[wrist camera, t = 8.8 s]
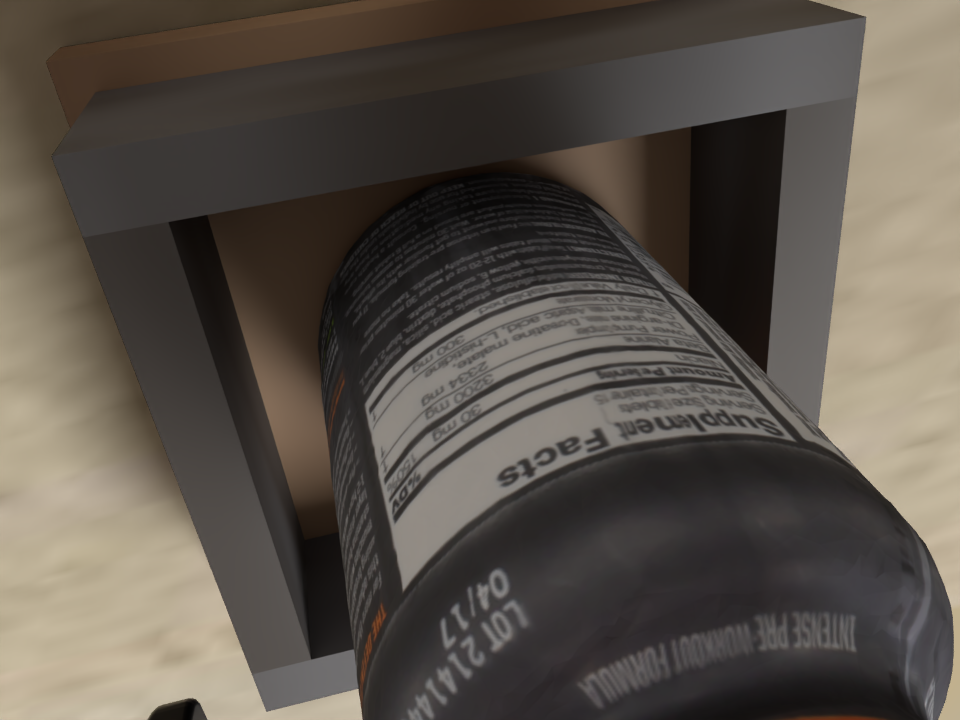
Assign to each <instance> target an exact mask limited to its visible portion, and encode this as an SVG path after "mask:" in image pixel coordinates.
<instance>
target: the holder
mask: <svg viewBox="0 0 960 720" xmlns="http://www.w3.org/2000/svg"><path fill="white" fill-rule="evenodd" d="M865 24H866V17H865V16H861V15H858V14H854V13H851V12H847V11H844V10H840V9H837V8H833V7H830V6H827V5H823V4H820V3H816V2H813V1H809V0H361V1H354V2H348V3H342V4H335V5H329V6H323V7H316V8H310V9H303V10H297V11H291V12H284V13H278V14H271V15H265V16H259V17H252V18H246V19H240V20H233V21H227V22H220V23H214V24H208V25H201V26H195V27H189V28H182V29H176V30H169V31H163V32H157V33H150V34H144V35H138V36H131V37H125V38H118V39H112V40H106V41H99V42H93V43H86V44H80V45H74V46H67V47H61V48H59V49H58V50H57V51H56V52H55V53H54V54H53V55H52V56H51V57H50V58H49V59H48V60H47V61H46V64H47V66H48V69H49V72H50V75H51V77H52V80H53V83H54V85H55V88H56V91H57V94H58V96H59V99H60V102H61V104H62V107H63V110H64V112H65V115H66V118H67V121H68V123H69V126H70V130H69V131H68V133H67V134H66V136H65V137H64V139H63V140H62V142H61V143H60V145H59V146H58V147H57V149H56V150H55V152H54V153H53V155H52V156H51V157H52V159H53V162H54V164H55V167H56V170H57V172H58V175H59V177H60V180H61V182H62V185H63V188H64V190H65V193H66V195H67V198H68V200H69V203H70V206H71V208H72V211H73V213H74V216H75V219H76V221H77V224H78V226H79V229H80V231H81V234H82V237H83V239H84V242H85V244H86V247H87V250H88V252H89V255H90V257H91V260H92V262H93V265H94V268H95V270H96V273H97V275H98V278H99V281H100V283H101V286H102V288H103V291H104V293H105V296H106V299H107V301H108V304H109V306H110V309H111V312H112V314H113V317H114V319H115V322H116V324H117V327H118V330H119V332H120V335H121V337H122V340H123V343H124V345H125V348H126V350H127V353H128V355H129V358H130V361H131V363H132V366H133V368H134V371H135V373H136V376H137V379H138V381H139V384H140V386H141V389H142V392H143V394H144V397H145V399H146V402H147V404H148V407H149V410H150V412H151V415H152V417H153V420H154V423H155V425H156V428H157V430H158V433H159V435H160V438H161V441H162V443H163V446H164V448H165V451H166V454H167V456H168V459H169V461H170V464H171V466H172V469H173V472H174V474H175V477H176V479H177V482H178V485H179V487H180V490H181V492H182V495H183V497H184V500H185V503H186V505H187V508H188V510H189V513H190V515H191V518H192V521H193V523H194V526H195V528H196V531H197V534H198V536H199V539H200V541H201V544H202V546H203V549H204V552H205V554H206V557H207V559H208V562H209V565H210V567H211V570H212V572H213V575H214V577H215V580H216V583H217V585H218V588H219V590H220V593H221V596H222V598H223V601H224V603H225V606H226V608H227V611H228V614H229V616H230V619H231V621H232V624H233V627H234V629H235V632H236V634H237V637H238V639H239V642H240V645H241V647H242V650H243V652H244V655H245V658H246V660H247V663H248V665H249V668H250V670H251V673H252V676H253V678H254V681H255V683H256V686H257V688H258V691H259V694H260V696H261V699H262V701H263V704H264V707H265V709H266V712H267V711H271V710H275V709H279V708H283V707H287V706H291V705H295V704H299V703H303V702H307V701H311V700H315V699H319V698H323V697H327V696H331V695H335V694H339V693H343V692H347V691H351V690H355V689H358V683H357V670H356V663H355V654H354V645H353V637H352V630H351V624H350V614H349V609H348V601H347V592H346V581H345V573H344V568H343V559H342V552H341V544H340V536H339V527H338V521H337V515H336V507H335V499H334V491H333V486H332V479H331V471H330V470H331V468H330V457H329V448H328V439H327V431H326V426H325V419H324V409H323V404H322V393H321V383H322V382H321V372H320V362H319V353H318V336H319V326H320V321H321V315H322V310H323V306H324V302H325V298H326V294H327V291H328V287H329V285H330V283H331V281H332V279H333V277H334V275H335V273H336V271H337V269H338V268H339V266H340V264H341V263H342V261H343V259H344V258H345V256H346V254H347V253H348V251H349V249H350V248H351V247H352V246H353V244H354V243H355V242H356V241H357V240H358V239H359V238H360V236H361V235H362V234H363V233H364V232H365V231H366V230H367V228H368V227H369V226H370V225H372V224H373V223H374V222H375V221H376V220H378V219H379V218H380V217H381V216H382V215H383V214H385V213H386V212H387V211H388V210H389V209H391V208H392V207H394V206H396V205H397V204H399V203H400V202H402V201H403V200H405V199H407V198H408V197H410V196H412V195H414V194H416V193H418V192H419V191H421V190H423V189H425V188H427V187H430V186H432V185H435V184H439V183H444V182H446V181H449V180H452V179H457V178H462V177H467V176H472V175H477V174H482V173H498V172H509V173H521V174H529V175H535V176H539V177H543V178H547V179H551V180H554V181H557V182H560V183H562V184H564V185H567V186H569V187H571V188H573V189H575V190H577V191H580V192H582V193H584V194H585V195H587V196H588V197H590V198H591V199H593V200H594V201H595V202H597V203H598V204H599V205H600V206H602V207H603V208H604V209H605V210H606V211H607V212H608V213H609V214H610V215H611V216H612V217H614V218H615V219H616V220H617V221H618V222H619V223H620V224H621V225H622V226H623V227H624V228H625V229H626V230H627V231H628V232H629V233H630V234H631V235H632V237H633V238H634V239H635V240H636V241H637V242H638V243H639V244H640V245H641V246H642V247H643V248H644V249H645V250H646V251H647V252H648V253H649V254H650V255H651V256H652V257H653V258H654V259H655V260H656V261H657V262H658V263H659V264H660V265H661V266H662V267H663V268H664V269H665V270H666V271H667V272H668V273H669V275H670V276H671V277H672V278H673V279H674V280H675V281H676V282H677V283H678V284H679V285H680V286H681V287H682V288H683V289H684V290H685V291H686V292H687V293H688V294H689V295H690V296H691V297H692V299H693V300H694V301H695V302H696V303H697V304H698V305H699V306H700V307H701V308H702V309H703V310H704V311H705V312H706V313H707V314H708V315H709V316H710V317H711V318H712V319H713V320H714V321H715V322H716V323H717V324H718V325H719V326H720V327H721V328H722V329H723V330H724V331H725V332H726V333H727V334H728V335H729V336H730V337H731V338H732V339H733V340H734V341H735V342H736V343H737V344H738V345H739V346H740V347H741V348H742V350H743V351H744V352H745V353H746V354H747V355H748V356H749V357H750V358H751V359H752V360H753V361H754V362H755V363H756V364H757V365H758V366H759V367H760V368H761V370H762V371H763V372H764V373H765V374H766V375H767V376H768V377H769V378H770V379H771V380H772V381H773V382H774V383H775V384H776V385H777V386H778V387H779V388H780V389H781V390H782V391H783V392H784V393H785V394H786V395H787V396H788V397H789V398H790V399H791V400H792V402H793V403H794V404H795V405H796V406H797V407H798V408H799V409H800V410H801V411H802V412H803V413H804V414H805V415H806V416H807V417H808V418H809V419H810V420H811V421H812V422H813V423H814V424H815V425H816V426H817V427H818V423H819V415H820V406H821V398H822V389H823V381H824V372H825V364H826V355H827V347H828V338H829V330H830V321H831V313H832V304H833V296H834V287H835V279H836V270H837V262H838V253H839V245H840V236H841V228H842V219H843V211H844V202H845V194H846V185H847V177H848V168H849V160H850V151H851V143H852V134H853V126H854V117H855V109H856V100H857V92H858V83H859V75H860V67H861V58H862V50H863V41H864V33H865Z"/></svg>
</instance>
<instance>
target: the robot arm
mask: <svg viewBox="0 0 960 720" xmlns="http://www.w3.org/2000/svg"><path fill="white" fill-rule="evenodd" d="M148 720H207V718H206V716H205V714H204V711H203V709H202V707H201V705H200V703H199V702H198V701H197V700H196V699H193V698H188V699H184V700H180V701H176V702H172V703H168V704H164V705H161V706H159V707H157V708H156V709H155V710H154V711H153V712H152V713H151V715H150V716H149V718H148Z"/></svg>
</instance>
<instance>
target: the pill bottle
mask: <svg viewBox="0 0 960 720" xmlns="http://www.w3.org/2000/svg"><path fill="white" fill-rule="evenodd" d="M318 353H319V362H320V372H321V382H322V383H321V393H322V404H323V409H324V419H325V426H326V431H327V439H328V448H329V457H330V468H331V470H330V471H331V479H332V486H333V491H334V499H335V507H336V515H337V521H338V527H339V536H340V544H341V552H342V559H343V568H344V573H345V581H346V592H347V601H348V609H349V614H350V624H351V630H352V637H353V645H354V654H355V663H356V670H357V683H358V689H359V696H360V702H361V709H362V717H363V720H938V718H939V716H940V713H941V711H942V708H943V706H944V703H945V700H946V696H947V691H948V687H949V684H950V680H951V674H952V667H953V653H954V652H953V651H954V649H953V648H954V645H953V644H954V634H953V617H952V610H951V605H950V602H949V599H948V596H947V593H946V590H945V586H944V584H943V581H942V579H941V576H940V574H939V572H938V569H937V567H936V565H935V562H934V560H933V558H932V556H931V554H930V552H929V550H928V548H927V546H926V544H925V543H924V542H923V540H922V539H921V538H920V537H919V536H918V534H917V532H916V531H915V530H914V529H913V528H912V527H911V525H910V524H909V523H908V522H907V521H906V520H905V519H904V518H903V517H902V516H901V515H900V513H899V512H898V511H897V510H896V508H895V507H894V506H893V505H892V503H891V502H889V501H888V500H887V499H886V498H885V497H884V496H883V495H882V494H881V493H880V492H879V491H878V490H877V489H876V488H875V487H874V486H873V485H872V484H871V483H870V482H869V481H868V480H867V479H866V478H865V477H864V476H863V475H862V474H861V473H860V472H859V470H858V469H857V468H856V467H855V466H854V465H853V464H852V463H851V462H850V460H849V459H848V458H847V457H846V456H845V455H844V454H843V453H842V452H841V451H840V450H839V449H838V448H837V447H836V446H835V445H834V444H833V443H832V442H831V441H830V440H829V439H828V438H827V437H826V435H825V434H824V433H823V432H822V431H821V430H820V429H819V428H818V427H817V426H816V425H815V424H814V423H813V422H812V421H811V420H810V419H809V418H808V417H807V416H806V415H805V414H804V413H803V412H802V411H801V410H800V409H799V408H798V407H797V406H796V405H795V404H794V403H793V402H792V400H791V399H790V398H789V397H788V396H787V395H786V394H785V393H784V392H783V391H782V390H781V389H780V388H779V387H778V386H777V385H776V384H775V383H774V382H773V381H772V380H771V379H770V378H769V377H768V376H767V375H766V374H765V373H764V372H763V371H762V370H761V368H760V367H759V366H758V365H757V364H756V363H755V362H754V361H753V360H752V359H751V358H750V357H749V356H748V355H747V354H746V353H745V352H744V351H743V350H742V348H741V347H740V346H739V345H738V344H737V343H736V342H735V341H734V340H733V339H732V338H731V337H730V336H729V335H728V334H727V333H726V332H725V331H724V330H723V329H722V328H721V327H720V326H719V325H718V324H717V323H716V322H715V321H714V320H713V319H712V318H711V317H710V316H709V315H708V314H707V313H706V312H705V311H704V310H703V309H702V308H701V307H700V306H699V305H698V304H697V303H696V302H695V301H694V300H693V299H692V297H691V296H690V295H689V294H688V293H687V292H686V291H685V290H684V289H683V288H682V287H681V286H680V285H679V284H678V283H677V282H676V281H675V280H674V279H673V278H672V277H671V276H670V275H669V273H668V272H667V271H666V270H665V269H664V268H663V267H662V266H661V265H660V264H659V263H658V262H657V261H656V260H655V259H654V258H653V257H652V256H651V255H650V254H649V253H648V252H647V251H646V250H645V249H644V248H643V247H642V246H641V245H640V244H639V243H638V242H637V241H636V240H635V239H634V238H633V237H632V235H631V234H630V233H629V232H628V231H627V230H626V229H625V228H624V227H623V226H622V225H621V224H620V223H619V222H618V221H617V220H616V219H615V218H614V217H612V216H611V215H610V214H609V213H608V212H607V211H606V210H605V209H604V208H603V207H602V206H600V205H599V204H598V203H597V202H595V201H594V200H593V199H591V198H590V197H588V196H587V195H585V194H584V193H582V192H580V191H577V190H575V189H573V188H571V187H569V186H567V185H564V184H562V183H560V182H557V181H554V180H551V179H547V178H543V177H539V176H535V175H529V174H521V173H509V172H498V173H482V174H477V175H472V176H467V177H462V178H457V179H452V180H449V181H446V182H444V183H439V184H435V185H432V186H430V187H427V188H425V189H423V190H421V191H419V192H418V193H416V194H414V195H412V196H410V197H408V198H407V199H405V200H403V201H402V202H400V203H399V204H397V205H396V206H394V207H392V208H391V209H389V210H388V211H387V212H386V213H385V214H383V215H382V216H381V217H380V218H379V219H378V220H376V221H375V222H374V223H373V224H372V225H370V226H369V227H368V228H367V230H366V231H365V232H364V233H363V234H362V235H361V236H360V238H359V239H358V240H357V241H356V242H355V243H354V244H353V246H352V247H351V248H350V249H349V251H348V253H347V254H346V256H345V258H344V259H343V261H342V263H341V264H340V266H339V268H338V269H337V271H336V273H335V275H334V277H333V279H332V281H331V283H330V285H329V287H328V291H327V294H326V298H325V302H324V306H323V310H322V315H321V321H320V326H319V336H318Z"/></svg>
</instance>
